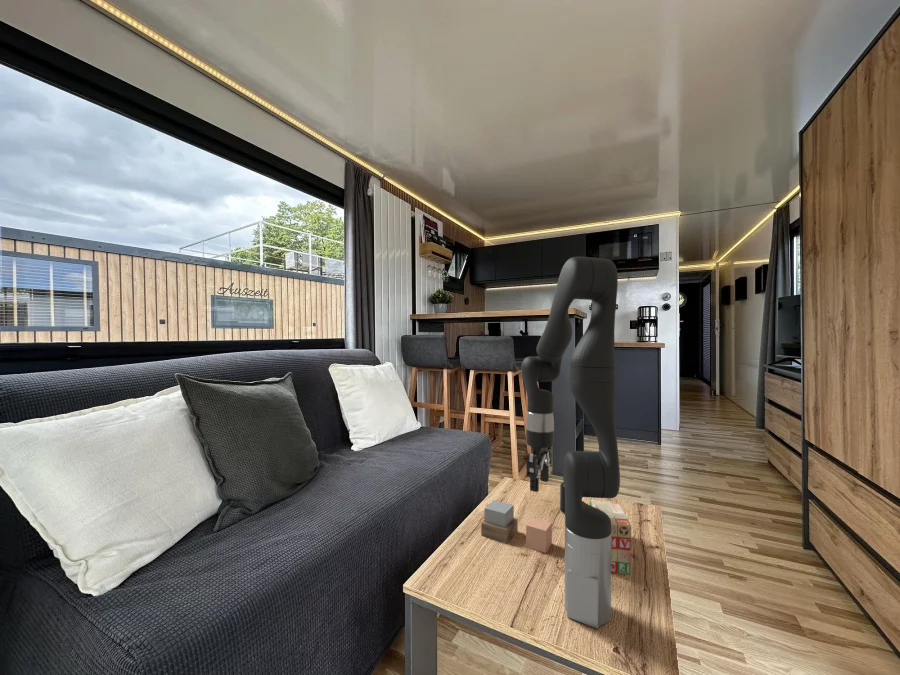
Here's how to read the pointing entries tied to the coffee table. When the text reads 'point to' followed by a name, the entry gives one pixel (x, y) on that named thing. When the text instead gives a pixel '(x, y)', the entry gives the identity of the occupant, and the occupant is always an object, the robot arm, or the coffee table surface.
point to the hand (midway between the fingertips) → (539, 485)
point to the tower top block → (499, 513)
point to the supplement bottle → (562, 497)
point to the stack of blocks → (617, 536)
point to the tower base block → (499, 531)
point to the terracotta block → (539, 535)
